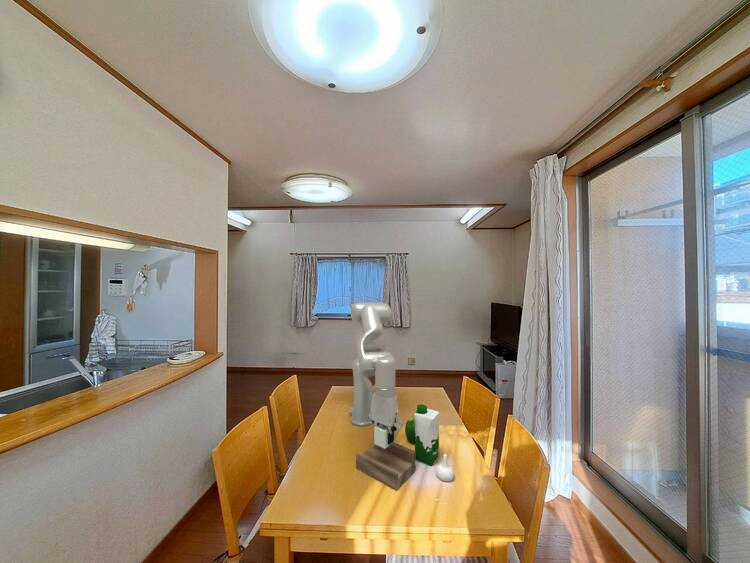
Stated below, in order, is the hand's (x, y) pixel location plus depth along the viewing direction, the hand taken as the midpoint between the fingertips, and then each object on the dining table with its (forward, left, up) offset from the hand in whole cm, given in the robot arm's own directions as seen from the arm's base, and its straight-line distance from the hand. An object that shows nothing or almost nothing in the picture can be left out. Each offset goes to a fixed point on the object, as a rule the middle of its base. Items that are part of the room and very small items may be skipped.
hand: (384, 439), depth 101 cm
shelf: (0, +1, -11) cm, 11 cm away
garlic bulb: (+19, +11, -12) cm, 25 cm away
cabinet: (0, 0, -1) cm, 1 cm away
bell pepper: (-1, +24, -11) cm, 27 cm away
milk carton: (+9, +16, -11) cm, 22 cm away
